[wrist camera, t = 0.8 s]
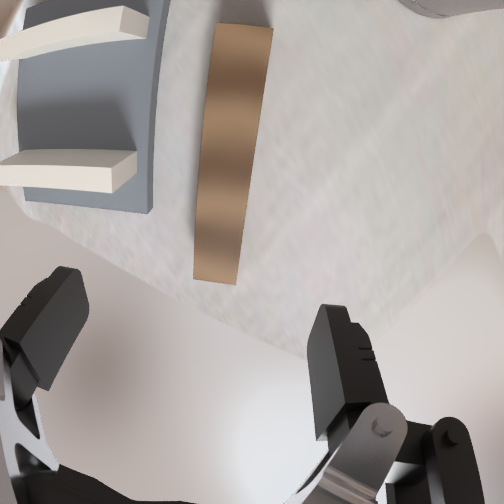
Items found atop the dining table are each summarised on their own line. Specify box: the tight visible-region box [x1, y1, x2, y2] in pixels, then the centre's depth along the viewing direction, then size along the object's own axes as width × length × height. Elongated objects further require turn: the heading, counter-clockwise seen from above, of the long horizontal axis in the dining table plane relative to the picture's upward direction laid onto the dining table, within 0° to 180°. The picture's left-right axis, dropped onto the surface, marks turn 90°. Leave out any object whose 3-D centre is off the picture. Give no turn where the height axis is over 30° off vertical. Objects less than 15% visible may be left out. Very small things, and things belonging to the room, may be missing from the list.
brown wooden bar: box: [193, 23, 274, 285], centre depth 24 cm, size 22×4×4 cm, turn 172°
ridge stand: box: [0, 0, 170, 214], centre depth 19 cm, size 22×16×6 cm
